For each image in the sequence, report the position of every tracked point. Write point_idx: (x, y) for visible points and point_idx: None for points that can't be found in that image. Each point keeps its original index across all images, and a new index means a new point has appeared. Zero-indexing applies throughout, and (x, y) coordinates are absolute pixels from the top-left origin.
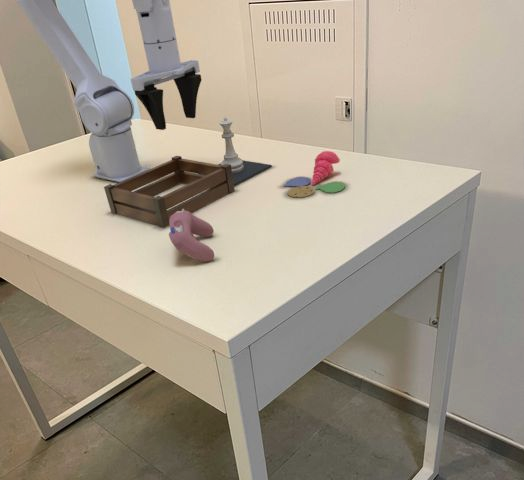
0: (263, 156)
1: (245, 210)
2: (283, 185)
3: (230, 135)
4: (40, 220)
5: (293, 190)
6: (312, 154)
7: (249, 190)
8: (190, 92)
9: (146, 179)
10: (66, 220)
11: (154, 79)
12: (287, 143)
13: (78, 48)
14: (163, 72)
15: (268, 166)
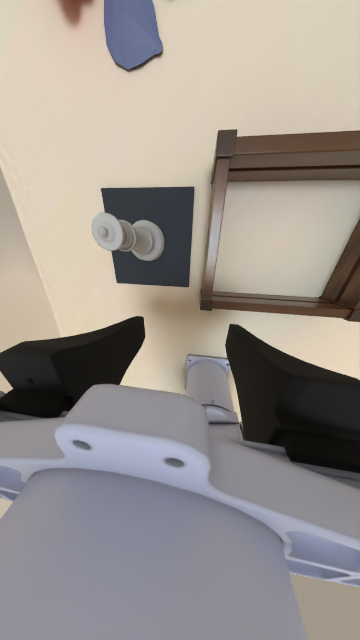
0: (82, 245)
1: (304, 23)
2: (161, 48)
3: (124, 221)
4: (349, 368)
5: None
6: (24, 154)
7: (201, 134)
8: (107, 346)
9: (277, 302)
10: (351, 342)
11: (356, 489)
12: (30, 247)
13: None
14: (292, 526)
15: (108, 188)
